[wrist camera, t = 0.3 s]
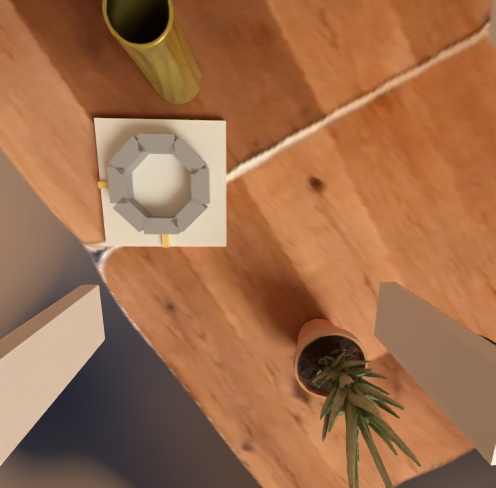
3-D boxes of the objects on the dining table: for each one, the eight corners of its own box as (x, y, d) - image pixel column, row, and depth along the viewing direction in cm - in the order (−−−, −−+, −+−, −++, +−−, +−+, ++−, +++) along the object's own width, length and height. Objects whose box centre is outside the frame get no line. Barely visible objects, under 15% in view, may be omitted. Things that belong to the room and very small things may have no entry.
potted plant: (272, 338, 43) (318, 537, 19) (317, 295, 42) (428, 448, 18) (317, 377, 45) (411, 604, 21) (361, 336, 44) (517, 527, 19)
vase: (141, 76, 35) (77, 6, 21) (175, 38, 34) (134, -62, 20) (177, 115, 36) (140, 73, 22) (212, 79, 35) (196, 11, 21)
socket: (97, 119, 36) (83, 113, 32) (225, 122, 36) (224, 116, 33) (109, 244, 39) (97, 250, 36) (226, 244, 40) (225, 250, 36)
